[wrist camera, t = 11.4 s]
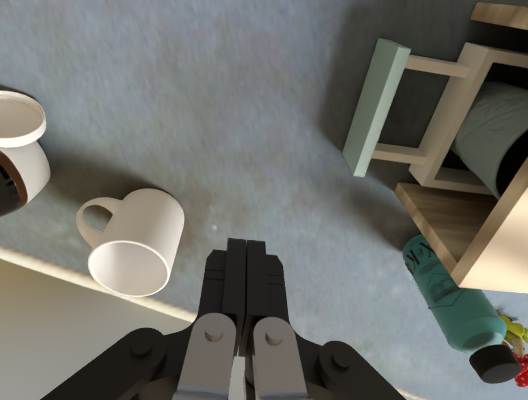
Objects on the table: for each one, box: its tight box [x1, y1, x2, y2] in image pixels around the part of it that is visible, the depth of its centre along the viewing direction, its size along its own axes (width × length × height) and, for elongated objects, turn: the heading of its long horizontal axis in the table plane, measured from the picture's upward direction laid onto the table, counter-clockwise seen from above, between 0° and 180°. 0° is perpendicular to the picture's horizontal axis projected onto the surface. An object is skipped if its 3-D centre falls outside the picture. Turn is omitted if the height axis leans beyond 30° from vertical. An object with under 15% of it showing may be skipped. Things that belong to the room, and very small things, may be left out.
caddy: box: [342, 38, 528, 195], centre depth 36 cm, size 15×24×6 cm, turn 81°
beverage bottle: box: [403, 234, 521, 384], centre depth 41 cm, size 6×7×20 cm
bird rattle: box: [500, 315, 528, 387], centre depth 58 cm, size 6×11×9 cm
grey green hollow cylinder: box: [450, 82, 528, 200], centre depth 34 cm, size 10×10×12 cm
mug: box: [76, 188, 184, 297], centre depth 40 cm, size 9×12×11 cm
